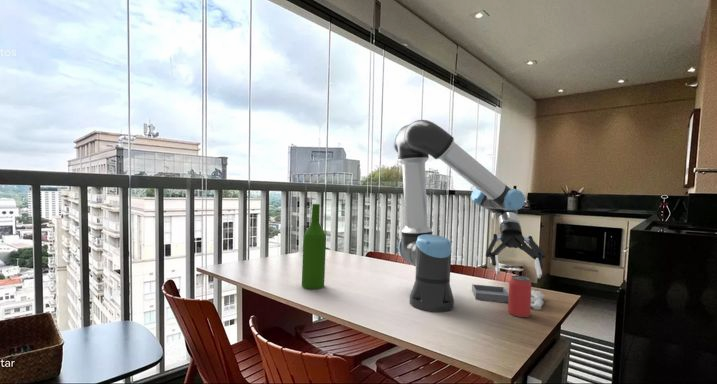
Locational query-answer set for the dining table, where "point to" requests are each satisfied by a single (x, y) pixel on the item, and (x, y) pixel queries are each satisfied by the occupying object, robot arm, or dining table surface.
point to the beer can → (519, 296)
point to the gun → (536, 300)
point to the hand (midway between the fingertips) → (518, 274)
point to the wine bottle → (314, 253)
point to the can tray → (490, 293)
